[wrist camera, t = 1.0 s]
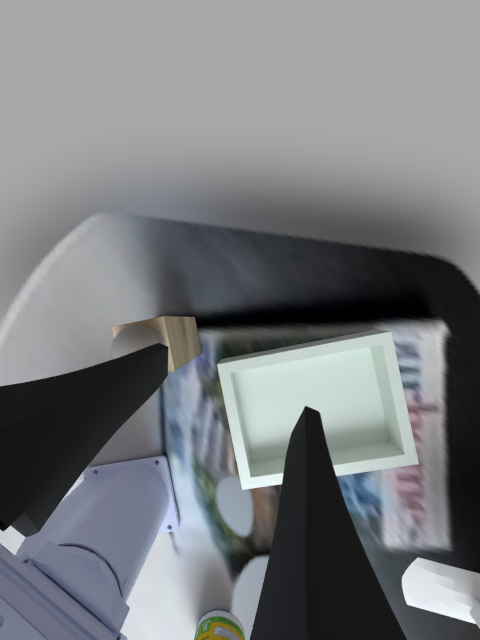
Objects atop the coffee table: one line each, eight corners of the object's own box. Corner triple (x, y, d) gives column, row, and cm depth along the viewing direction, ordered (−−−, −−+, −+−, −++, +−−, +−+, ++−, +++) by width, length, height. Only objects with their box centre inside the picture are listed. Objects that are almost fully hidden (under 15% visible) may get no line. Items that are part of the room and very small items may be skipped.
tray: (244, 469, 24) (242, 489, 21) (221, 358, 24) (217, 364, 21) (398, 445, 22) (418, 464, 20) (374, 329, 23) (391, 331, 20)
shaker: (166, 360, 24) (113, 384, 15) (159, 324, 24) (102, 327, 15) (201, 353, 24) (169, 374, 15) (194, 316, 24) (157, 315, 15)
